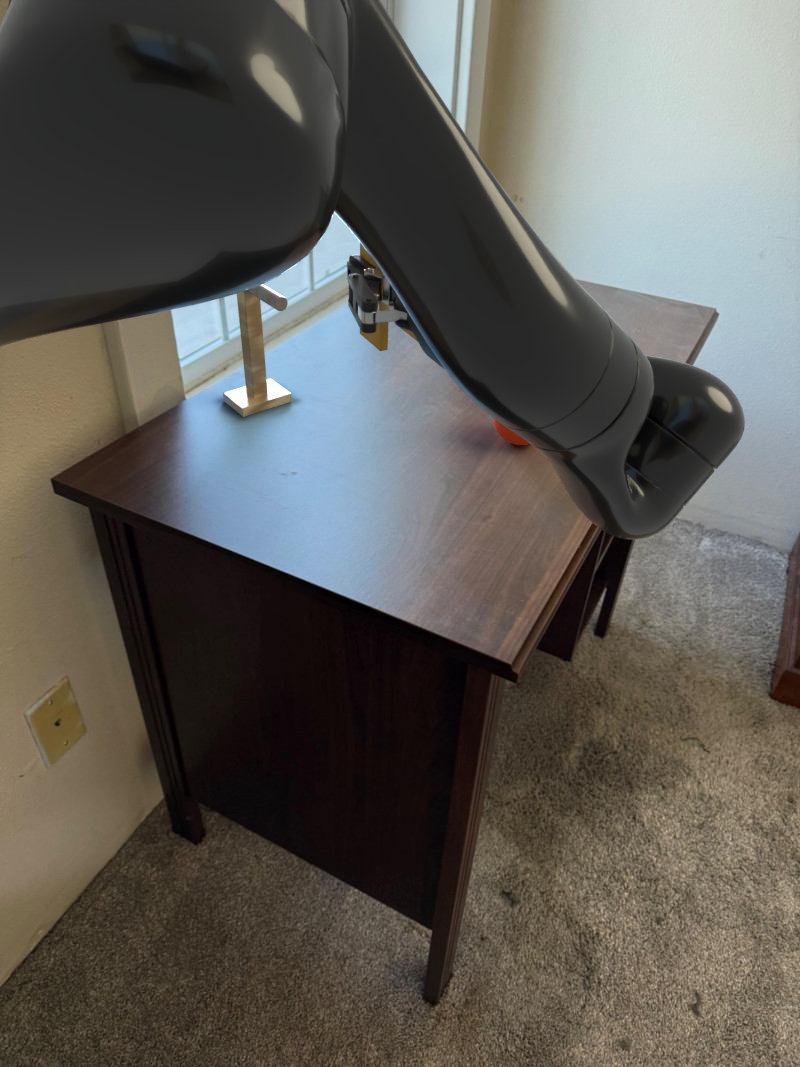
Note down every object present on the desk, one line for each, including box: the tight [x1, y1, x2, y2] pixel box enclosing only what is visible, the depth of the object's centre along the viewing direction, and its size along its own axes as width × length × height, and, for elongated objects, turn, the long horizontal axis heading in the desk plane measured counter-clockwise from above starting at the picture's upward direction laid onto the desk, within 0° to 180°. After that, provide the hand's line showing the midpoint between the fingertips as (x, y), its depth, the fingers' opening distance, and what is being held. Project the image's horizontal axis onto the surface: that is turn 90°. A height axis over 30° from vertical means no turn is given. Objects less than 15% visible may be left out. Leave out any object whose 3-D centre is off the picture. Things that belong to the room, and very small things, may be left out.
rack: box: [222, 284, 293, 418], centre depth 88 cm, size 7×10×18 cm
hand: (380, 261), depth 66 cm, fingers closed on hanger, 4 cm apart
